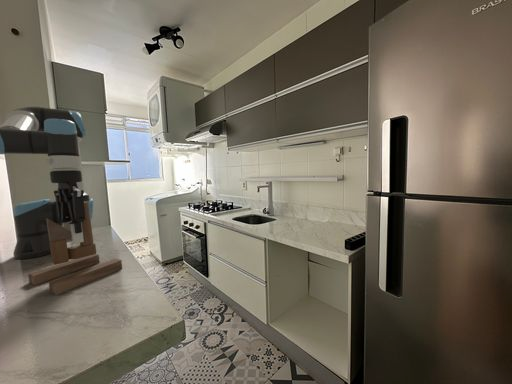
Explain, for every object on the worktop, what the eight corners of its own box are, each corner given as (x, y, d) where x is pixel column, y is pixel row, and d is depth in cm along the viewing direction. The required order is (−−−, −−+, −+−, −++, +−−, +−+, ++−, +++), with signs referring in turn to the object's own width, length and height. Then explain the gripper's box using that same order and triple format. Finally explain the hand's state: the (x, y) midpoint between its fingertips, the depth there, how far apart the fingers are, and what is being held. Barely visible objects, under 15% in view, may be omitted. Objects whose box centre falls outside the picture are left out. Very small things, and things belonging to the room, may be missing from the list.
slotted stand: (29, 282, 67) (28, 273, 67) (93, 260, 83) (92, 253, 83) (56, 295, 59) (55, 284, 59) (122, 268, 75) (121, 259, 75)
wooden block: (52, 262, 68) (43, 206, 66) (94, 252, 76) (87, 201, 74) (53, 265, 65) (45, 206, 64) (96, 254, 73) (89, 201, 72)
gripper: (38, 171, 69) (47, 242, 71) (64, 168, 61) (74, 249, 63) (66, 171, 76) (74, 236, 78) (94, 168, 68) (101, 241, 70)
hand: (74, 242), depth 70 cm, fingers closed on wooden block, 4 cm apart
